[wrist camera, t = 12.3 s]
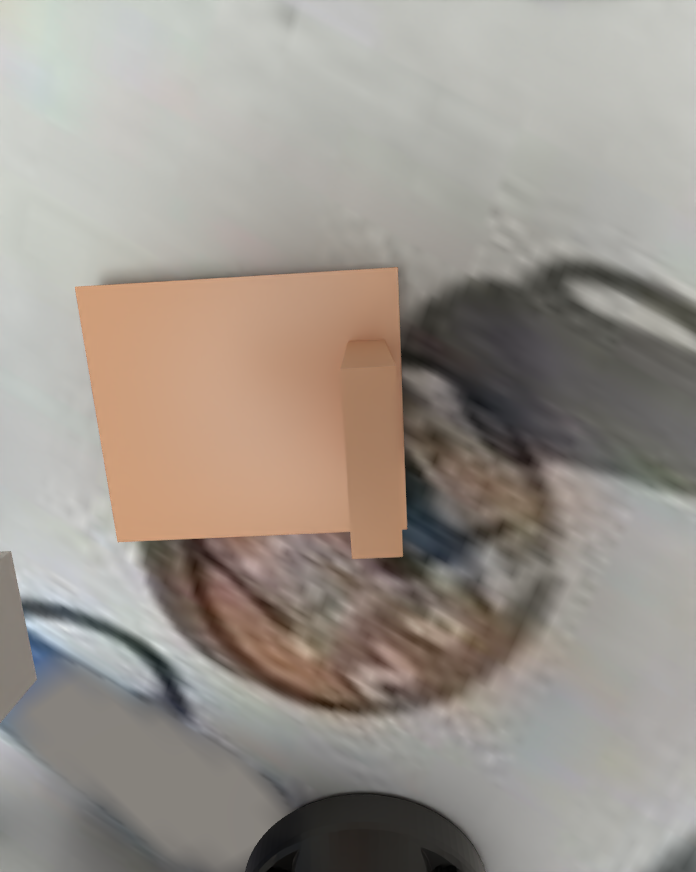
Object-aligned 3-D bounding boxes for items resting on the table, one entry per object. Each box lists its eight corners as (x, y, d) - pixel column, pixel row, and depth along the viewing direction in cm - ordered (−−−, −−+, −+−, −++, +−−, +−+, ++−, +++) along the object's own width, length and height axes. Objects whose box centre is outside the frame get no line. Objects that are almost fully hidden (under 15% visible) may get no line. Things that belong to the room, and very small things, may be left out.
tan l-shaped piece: (403, 509, 30) (427, 640, 19) (137, 521, 31) (8, 655, 19) (394, 268, 27) (417, 256, 16) (99, 286, 28) (-78, 286, 17)
